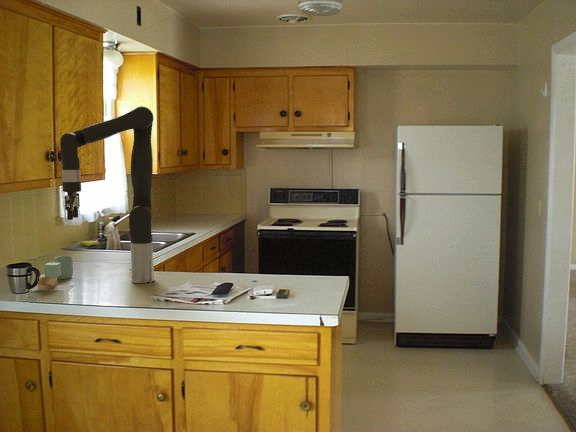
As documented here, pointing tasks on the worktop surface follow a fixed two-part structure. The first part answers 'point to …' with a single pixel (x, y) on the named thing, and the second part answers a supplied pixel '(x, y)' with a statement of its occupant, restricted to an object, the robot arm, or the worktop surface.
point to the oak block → (47, 282)
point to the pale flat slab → (59, 287)
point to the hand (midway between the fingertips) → (73, 218)
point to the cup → (65, 266)
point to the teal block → (52, 269)
